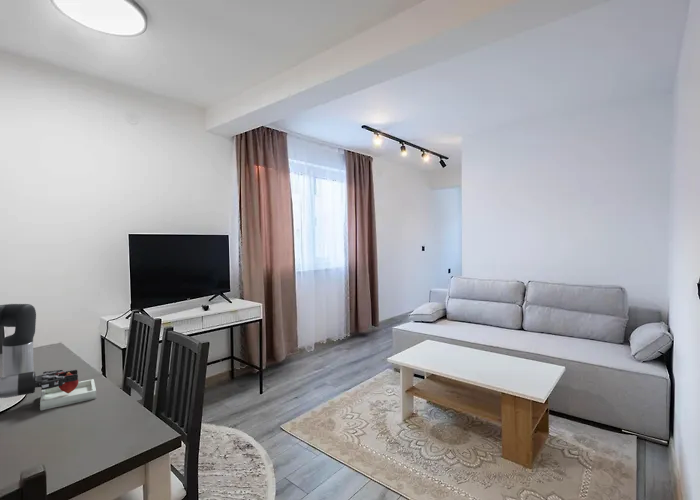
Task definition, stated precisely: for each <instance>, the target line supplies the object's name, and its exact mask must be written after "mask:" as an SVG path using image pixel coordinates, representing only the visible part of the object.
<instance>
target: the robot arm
mask: <svg viewBox="0 0 700 500" xmlns="http://www.w3.org/2000/svg"><path fill="white" fill-rule="evenodd" d="M36 312H37V311H36V308H35V306H33V305H32V304H30V303H9V304H7V303H6V304H0V327H4V328H14V333H13V334H10V335H7V336H5V337H3V338H2V341H1V345H2V376H1V377H0V399H8V398H13V397H19V396H24V395H25V396H26V395H30V394H31V395H32V394H33V393H34V394H35V392H36V388H41V391H42V390H45V389H49V388H53V387H58V386H62V385H63V384H64V383H65V382H71V381H76V380H78V381H79V376H78V369H72V370H71V369H70V370H67V371H66V370H64V369H59V370H58V369H57V370H49V371H45V370H44V371H43V373H42V374H40V375H37V374H36V372H35V371H34V336H35V334H36V324H37V323H36V322H37V313H36ZM68 372H69V373H71V374H73V375H68V376H65V375H66V373H68Z"/></svg>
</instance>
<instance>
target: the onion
mask: <svg viewBox="0 0 700 500" xmlns="http://www.w3.org/2000/svg"><path fill="white" fill-rule="evenodd" d="M68 375H73V374H71V373H69V372H68V373H66V375H65V376H68ZM78 382H79V379H78V380H76V381H71V382H65V383H64V384H63V385H62V386H59V388H60V389H61V390H62V391H64V392H66V393H70V392H72V391H73V390H74V389H75V388H76V387H77V385H78Z"/></svg>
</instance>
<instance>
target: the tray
mask: <svg viewBox="0 0 700 500" xmlns="http://www.w3.org/2000/svg"><path fill="white" fill-rule="evenodd" d="M96 399H97V389H96V383H95V379H94V378H92V379H87V380H86V379H85V380H82V381H78V385H77V387H76V388H75V389H74V390H73V391H72V392H70V393H66V392H64V391H62V390H61V389H60V388H59V386H58V387H53V388H49V389H45V390H41V394H40V401H39V402H40V403H39V405H40V406H39V409H40V410H39V411H44V410H49V409H53V408H57V407H62V406H68V405H73V404H77V403H82V402H85V401H90V400H96Z"/></svg>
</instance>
